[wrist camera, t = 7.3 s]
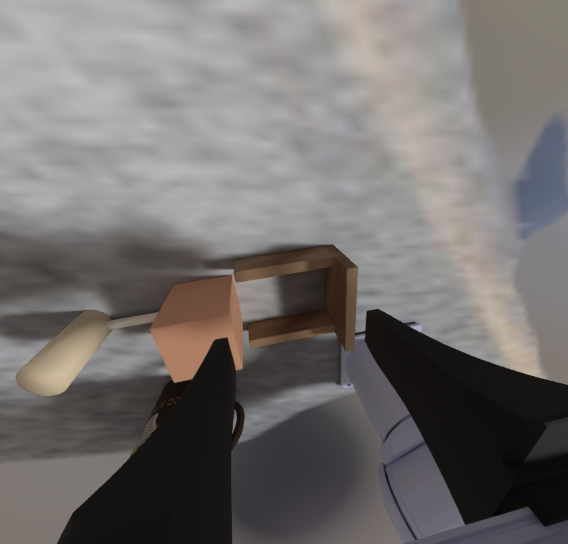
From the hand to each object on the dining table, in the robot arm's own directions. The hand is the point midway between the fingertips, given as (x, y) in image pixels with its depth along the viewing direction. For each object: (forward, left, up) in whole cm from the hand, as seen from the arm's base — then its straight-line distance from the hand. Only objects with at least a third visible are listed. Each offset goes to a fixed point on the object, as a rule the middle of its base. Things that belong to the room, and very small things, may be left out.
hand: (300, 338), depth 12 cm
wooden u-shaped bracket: (0, +3, -10) cm, 10 cm away
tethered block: (+11, +3, -10) cm, 15 cm away
